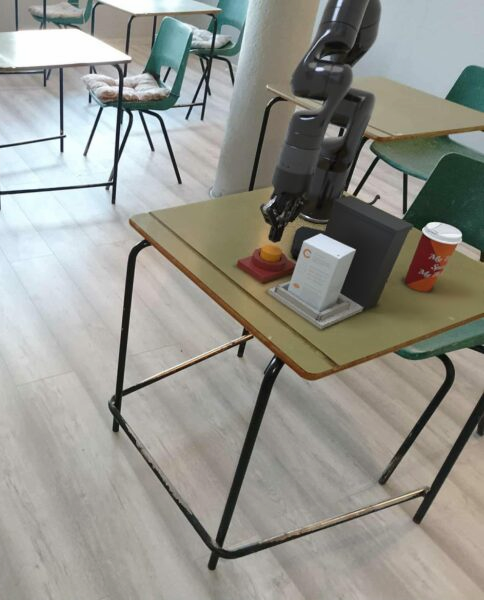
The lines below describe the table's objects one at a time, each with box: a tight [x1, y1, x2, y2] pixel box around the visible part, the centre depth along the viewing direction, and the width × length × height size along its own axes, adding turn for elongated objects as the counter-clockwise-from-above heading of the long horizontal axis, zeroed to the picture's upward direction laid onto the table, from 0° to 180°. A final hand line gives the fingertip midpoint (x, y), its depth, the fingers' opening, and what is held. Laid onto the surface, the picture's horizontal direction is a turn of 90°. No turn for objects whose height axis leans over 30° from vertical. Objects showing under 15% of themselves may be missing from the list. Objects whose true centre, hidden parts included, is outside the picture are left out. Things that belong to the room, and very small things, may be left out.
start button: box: [260, 244, 283, 262], centre depth 126 cm, size 4×4×2 cm
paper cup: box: [404, 221, 463, 293], centre depth 123 cm, size 8×8×14 cm
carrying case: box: [289, 225, 325, 260], centre depth 136 cm, size 11×3×15 cm
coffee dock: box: [267, 195, 414, 330], centre depth 115 cm, size 18×14×19 cm
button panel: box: [236, 247, 296, 285], centre depth 128 cm, size 11×8×4 cm
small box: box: [288, 233, 356, 312], centre depth 114 cm, size 8×6×13 cm
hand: (274, 240), depth 124 cm, fingers closed
